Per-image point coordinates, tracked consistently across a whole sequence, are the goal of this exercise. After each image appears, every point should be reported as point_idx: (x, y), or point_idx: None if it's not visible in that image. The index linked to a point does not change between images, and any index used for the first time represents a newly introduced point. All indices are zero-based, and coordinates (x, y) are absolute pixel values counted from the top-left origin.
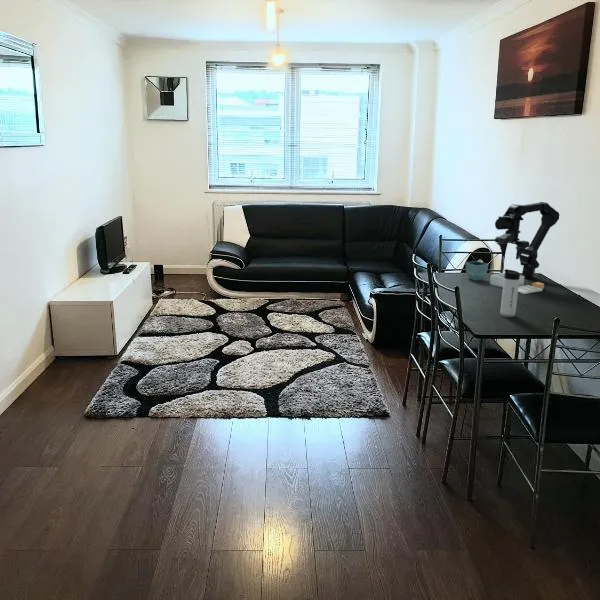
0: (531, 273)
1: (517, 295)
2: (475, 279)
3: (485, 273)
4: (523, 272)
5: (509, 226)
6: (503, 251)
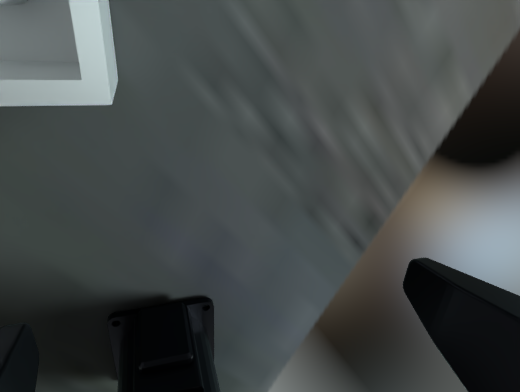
0: (119, 376)
1: None
2: None
3: None
4: (173, 334)
5: None
6: (496, 336)
